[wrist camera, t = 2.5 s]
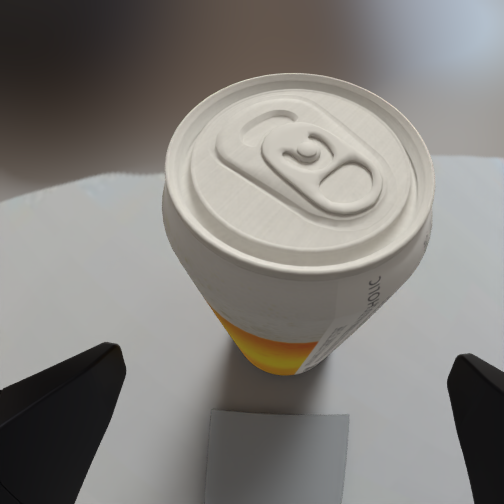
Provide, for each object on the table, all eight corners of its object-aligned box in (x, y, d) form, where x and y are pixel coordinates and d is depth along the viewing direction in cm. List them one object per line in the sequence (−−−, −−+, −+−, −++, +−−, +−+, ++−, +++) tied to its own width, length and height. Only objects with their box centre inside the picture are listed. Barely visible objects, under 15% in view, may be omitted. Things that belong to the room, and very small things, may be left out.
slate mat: (335, 528, 13) (337, 531, 12) (204, 522, 13) (202, 525, 13) (347, 414, 16) (349, 414, 16) (212, 409, 17) (211, 409, 17)
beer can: (288, 263, 21) (297, 45, 8) (353, 329, 19) (490, 166, 5) (216, 323, 19) (99, 150, 6) (281, 396, 17) (301, 392, 4)
